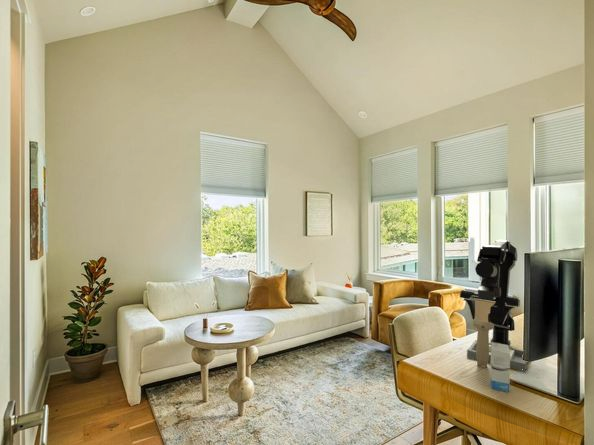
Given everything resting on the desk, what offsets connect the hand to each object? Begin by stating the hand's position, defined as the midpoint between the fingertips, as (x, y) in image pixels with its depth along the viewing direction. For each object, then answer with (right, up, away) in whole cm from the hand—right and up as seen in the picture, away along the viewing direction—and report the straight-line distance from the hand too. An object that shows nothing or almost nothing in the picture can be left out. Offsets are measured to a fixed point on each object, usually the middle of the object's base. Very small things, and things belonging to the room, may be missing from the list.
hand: (487, 322), depth 123 cm
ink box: (-7, -14, -19) cm, 24 cm away
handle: (-5, -14, -5) cm, 16 cm away
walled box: (+5, -14, +2) cm, 15 cm away
